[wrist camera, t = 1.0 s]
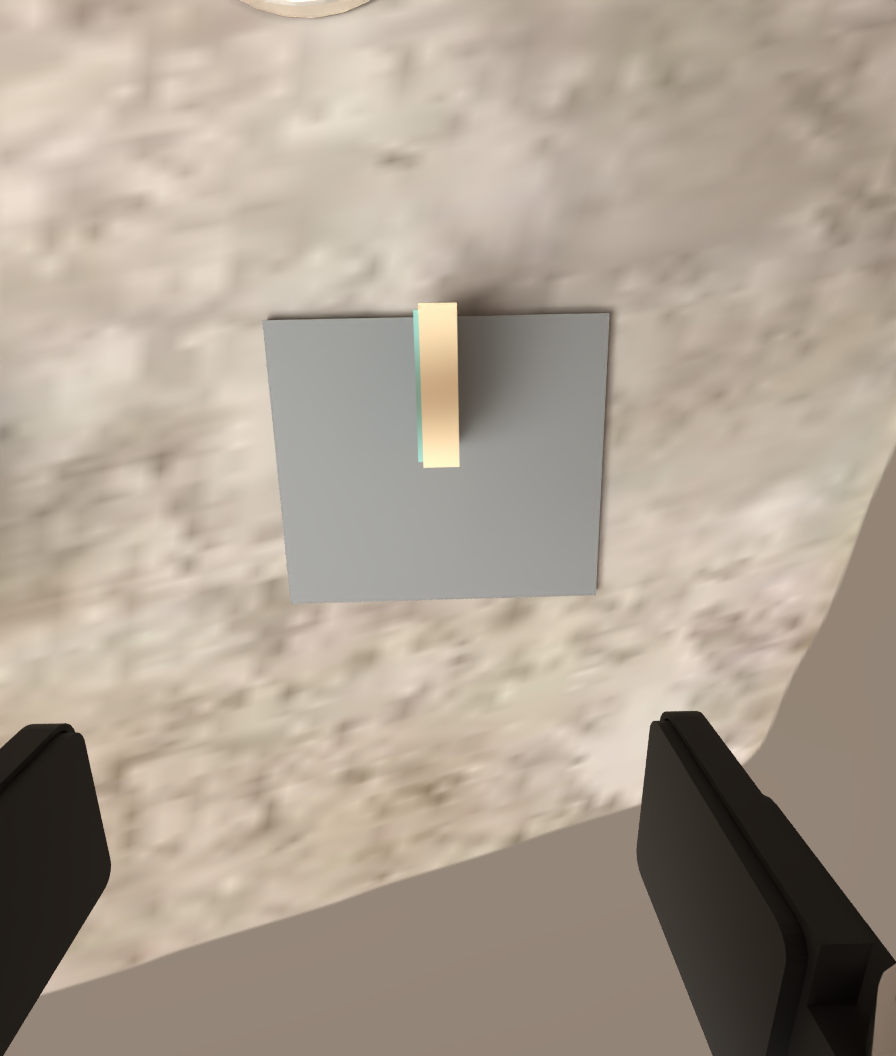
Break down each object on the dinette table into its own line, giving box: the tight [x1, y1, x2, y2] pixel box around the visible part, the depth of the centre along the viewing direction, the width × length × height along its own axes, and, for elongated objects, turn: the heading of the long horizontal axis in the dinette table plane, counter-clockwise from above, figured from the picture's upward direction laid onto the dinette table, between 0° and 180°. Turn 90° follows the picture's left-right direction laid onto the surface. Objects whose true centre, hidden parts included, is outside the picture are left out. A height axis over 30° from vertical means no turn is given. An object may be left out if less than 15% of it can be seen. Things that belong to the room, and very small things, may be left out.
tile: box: [413, 303, 459, 468], centre depth 25 cm, size 6×2×6 cm, turn 1°
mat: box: [263, 313, 610, 604], centre depth 29 cm, size 14×16×1 cm
